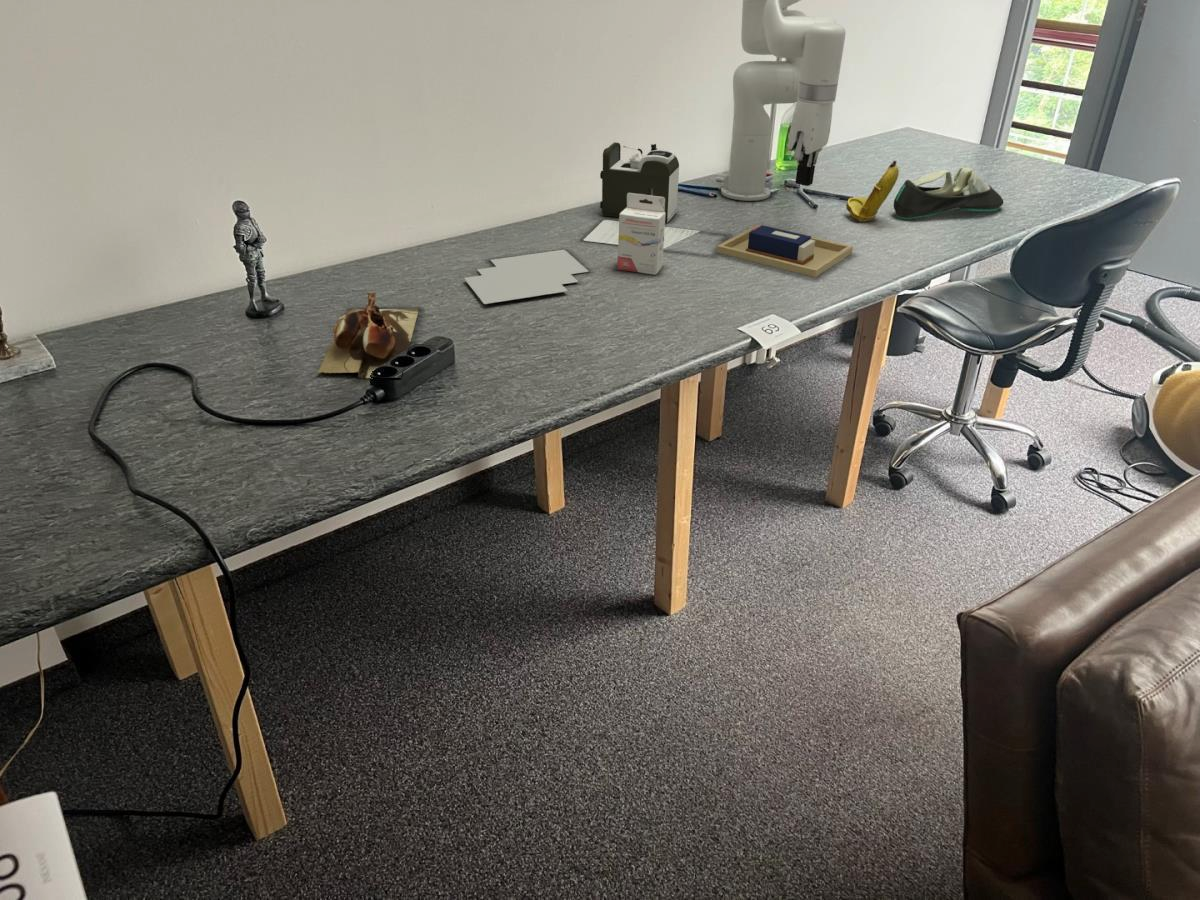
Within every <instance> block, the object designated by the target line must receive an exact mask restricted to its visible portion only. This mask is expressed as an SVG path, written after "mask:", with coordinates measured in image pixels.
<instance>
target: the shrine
mask: <svg viewBox="0 0 1200 900" xmlns="http://www.w3.org/2000/svg"><path fill="white" fill-rule="evenodd" d="M897 162H898V161H897V160H893V161H892V163H891V164H890V165H889V166H888V167H887V169H886V170H885V172H884V173H883V175H882V176H881V177H880V179H879V180H878V182H877V183H875V184H874V185H873V189H872V190H871V192H870V194H869V196H868V197H863V196H860V197H859V196H855V197H849V198H848V199H847V202H846V205H845V207H846V210H847V212H849V217H850V218H851V219H853V220H854V221H855V222H858V223H869V222H872V221H873V220H874V219H875V218H876V216H877V214H878V212H879V209H880V208H881V206H882V205H883V203H884V202H885V201H886V199H887V198H888V196H889V195H890V193H891V192H892V190H893V188H894V186H895V185H896V183H897V181H898V178H899V172H900V169H899V166H898V165H897Z"/></svg>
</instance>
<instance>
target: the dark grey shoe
mask: <svg viewBox="0 0 1200 900" xmlns="http://www.w3.org/2000/svg"><path fill="white" fill-rule="evenodd" d="M943 176H945V181H944V183H943V185H942V186H937V187H935V186H934V187H930V186H929V187H926V186H922V185H926V184H928V183H932V182H935V181H937V180H940V179H941V178H942V177H943ZM952 177H953V176H952V172H951V171H949V170H948V169H942V170H937V171H933V172H930V173H927V174H925V175H923V176H920V177H919V178H918V179H917V180H916V181H914V182H912V181H911V180H910V179H906V180H905V181H904V183H903V184H902V185H901V187H900V189H899V190H898V192H897V193H896V196H895V198H894V200H893V209H894V212H895V217H896V218H898V219H901V220H915V219H916V220H917V219H922V218H925V217H926V218H927V217H931V216H935V215H939V214H942V213H945V212H949V211H951V210H955V209H960V210H964V211H971V212H995V211H996V212H997V211H998V210H1000V208H1001V207H1002V206H1003V204H1004V202H1005V201H1004V199H1003V198H1002V196H1001V195H1000V194H999V193H998V192H997V191H996V190H995V189H994V188H993V187H992V186H991V185H990V184H988V183H986V181H985V180H984V179H983V177H982V176H981V174H979V173H978V172H977V171H976V170H974V169H973V168H970V167H968V166H963V167H960V168H959V169H958V171H957V173H956V174H955V175H954V178H952Z"/></svg>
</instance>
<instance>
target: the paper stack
mask: <svg viewBox="0 0 1200 900" xmlns="http://www.w3.org/2000/svg"><path fill="white" fill-rule="evenodd" d="M490 261H491V263H492V264H493V265H494V266H492V267H491V266H490V267H485V268H477V269H476V270H477V272H478V273H479V274H480V275H475V276H469V277H463V279H464V280H465V282H466V283H467V284H468V285H469V287H470V288H471V290H472V291H473V292H474V293H475V294H476V296H477V298H478V299H479V300H480V302H482V303H483V304H484V305H488V304H494V303H501V302H508V301H513V300H521V299H526V298H534V297H540V296H545V295H546V296H547V295H552V294H559V293H566V292H569V290H568V289H567V288H566V287H565V286H564V285H567V284H575V283H579V280H577V279H576V278H575V277H574V276H573V275H575V274H582V273H583V274H584V273H589V269H587V268H586V267H585V266H584V265H583V264H582V263H580V261H578V260H577V259H576V258H575V257H574V256H572V255H571V254H570V253H569V252H568V251H567V250H566V249H557V250H552V251H551V250H550V251H543V252H537V253H530V254H522V255H516V256H508V257H501V258H494V259H490Z"/></svg>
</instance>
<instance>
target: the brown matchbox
mask: <svg viewBox="0 0 1200 900" xmlns="http://www.w3.org/2000/svg"><path fill="white" fill-rule="evenodd" d="M760 225H761V224H760ZM811 237H812V236H811V235H807V234H802V233H798V232H794V231H789V230H785V229H780V228H775V227H772V226H767V225H763V224H762V225H761V226H760V227H755V228H754V229H752V230H751V232H749V241H748V248H747V249H746V251H747V252H751V253H755V254H759V255H763V256H767V257H771V258H775V259H780V260H784V261H788V262H792V263H796V264H800V265H804V264H806V263H807V262H809V261H810V260H812V259H813V258H814V254H813V253H814V246H815V240H811Z"/></svg>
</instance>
